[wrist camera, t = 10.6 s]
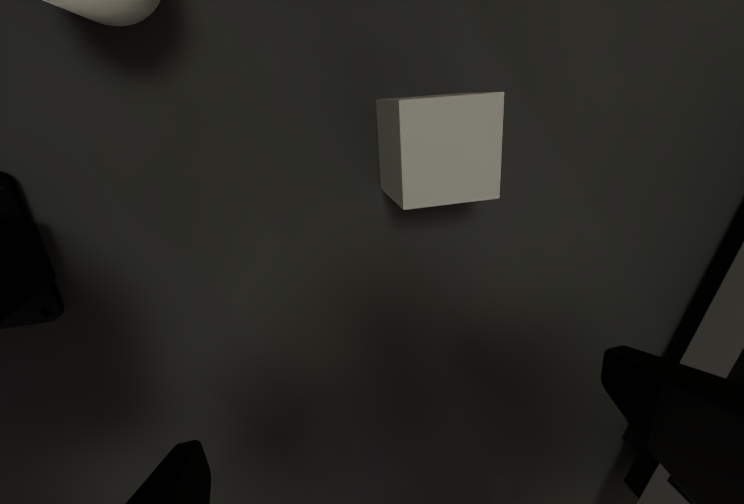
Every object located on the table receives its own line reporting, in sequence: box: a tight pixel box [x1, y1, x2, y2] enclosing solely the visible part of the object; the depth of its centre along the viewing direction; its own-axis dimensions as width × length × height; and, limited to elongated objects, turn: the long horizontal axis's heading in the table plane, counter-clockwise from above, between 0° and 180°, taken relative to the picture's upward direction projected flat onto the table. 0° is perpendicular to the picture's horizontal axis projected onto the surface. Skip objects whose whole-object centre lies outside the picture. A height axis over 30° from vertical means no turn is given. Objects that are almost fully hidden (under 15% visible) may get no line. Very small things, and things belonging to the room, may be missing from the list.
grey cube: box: [376, 92, 504, 210], centre depth 17 cm, size 4×4×4 cm
